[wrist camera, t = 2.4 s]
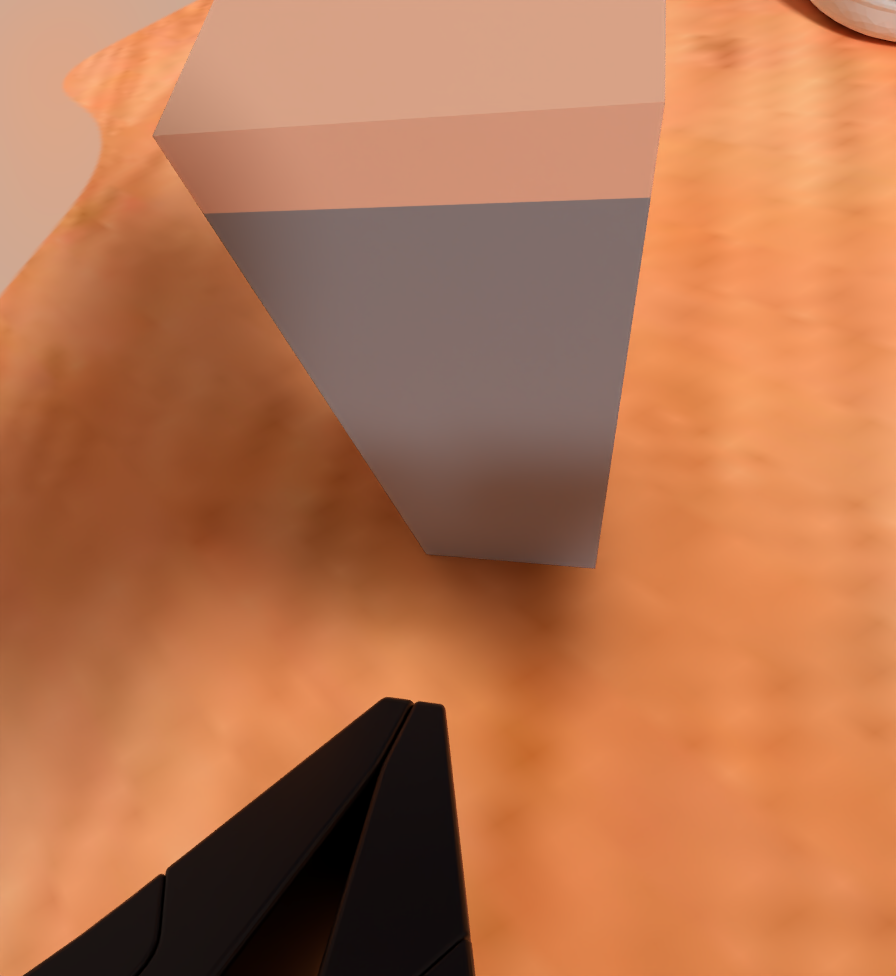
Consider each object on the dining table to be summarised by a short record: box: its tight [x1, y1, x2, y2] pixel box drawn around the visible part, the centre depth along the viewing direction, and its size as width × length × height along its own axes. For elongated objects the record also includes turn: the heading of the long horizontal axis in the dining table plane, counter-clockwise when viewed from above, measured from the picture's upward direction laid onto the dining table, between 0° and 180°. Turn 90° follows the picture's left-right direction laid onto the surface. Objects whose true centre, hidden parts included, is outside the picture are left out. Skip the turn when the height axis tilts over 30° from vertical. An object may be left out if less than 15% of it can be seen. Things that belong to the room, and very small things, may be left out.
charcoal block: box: [153, 0, 666, 568], centre depth 13 cm, size 5×5×14 cm
